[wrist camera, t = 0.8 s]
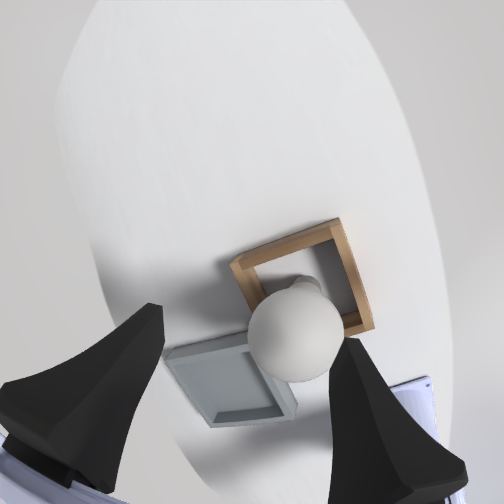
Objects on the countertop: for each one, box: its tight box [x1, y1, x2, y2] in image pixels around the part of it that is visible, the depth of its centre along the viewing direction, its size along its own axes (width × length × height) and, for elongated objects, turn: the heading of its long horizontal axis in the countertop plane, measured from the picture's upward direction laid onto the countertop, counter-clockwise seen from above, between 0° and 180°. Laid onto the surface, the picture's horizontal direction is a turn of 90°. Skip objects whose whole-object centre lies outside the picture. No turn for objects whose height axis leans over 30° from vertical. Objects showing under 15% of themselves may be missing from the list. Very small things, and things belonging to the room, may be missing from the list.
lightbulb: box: [247, 276, 344, 383], centre depth 21 cm, size 6×6×11 cm
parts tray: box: [164, 331, 298, 428], centre depth 30 cm, size 11×11×2 cm
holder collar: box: [229, 218, 375, 337], centre depth 25 cm, size 9×9×2 cm
